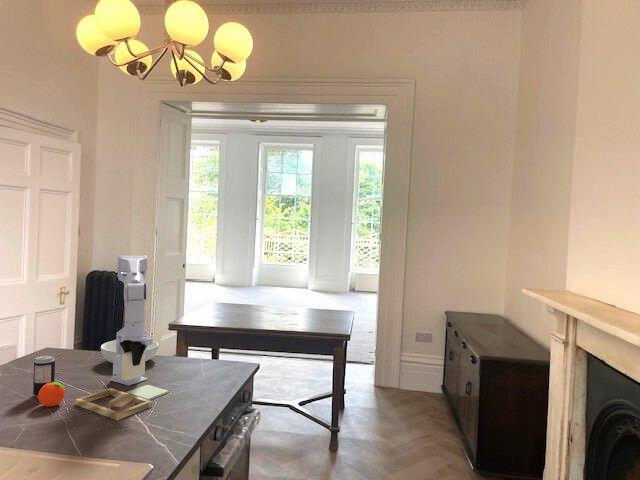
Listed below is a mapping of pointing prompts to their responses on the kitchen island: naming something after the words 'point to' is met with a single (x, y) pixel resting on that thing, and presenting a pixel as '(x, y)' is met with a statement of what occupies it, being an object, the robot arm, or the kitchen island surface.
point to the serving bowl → (110, 352)
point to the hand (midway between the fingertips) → (133, 364)
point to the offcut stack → (122, 402)
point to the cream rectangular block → (132, 367)
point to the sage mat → (148, 392)
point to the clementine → (51, 394)
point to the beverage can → (43, 372)
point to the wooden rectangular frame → (87, 404)
